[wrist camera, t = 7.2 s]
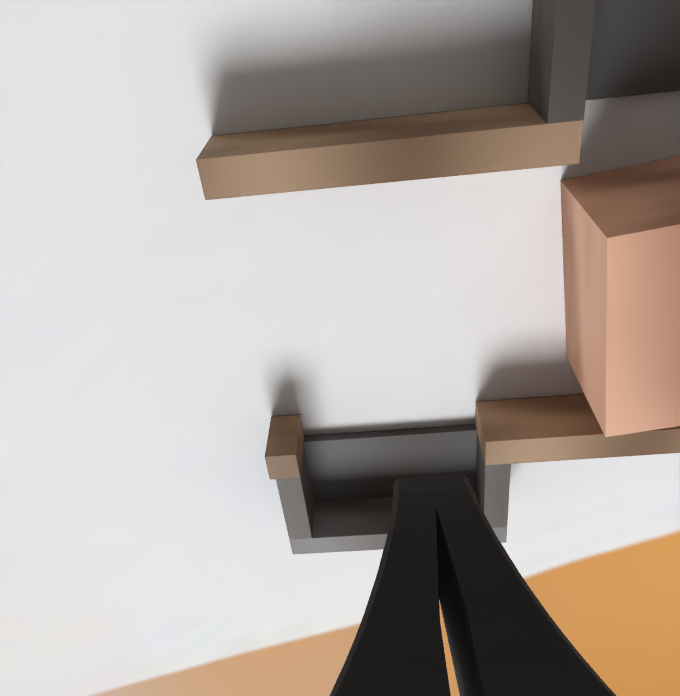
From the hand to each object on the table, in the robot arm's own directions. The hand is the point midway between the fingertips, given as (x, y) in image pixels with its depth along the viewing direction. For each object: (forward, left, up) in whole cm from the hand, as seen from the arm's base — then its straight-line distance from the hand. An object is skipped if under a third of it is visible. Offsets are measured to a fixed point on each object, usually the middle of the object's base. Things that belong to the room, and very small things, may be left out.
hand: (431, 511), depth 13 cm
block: (+6, +5, -9) cm, 12 cm away
